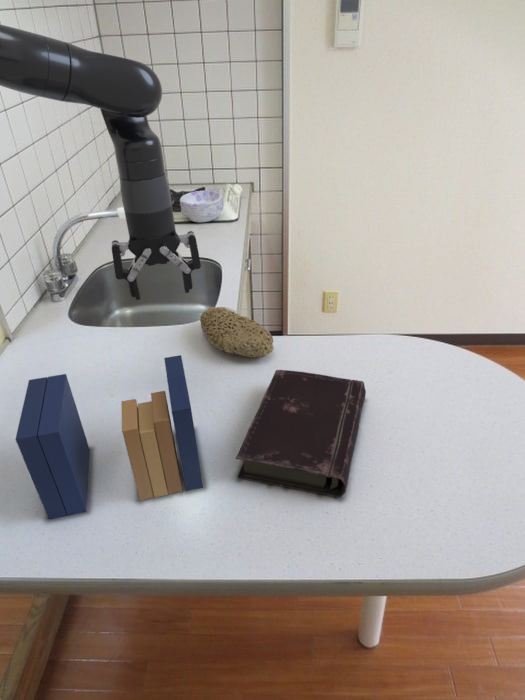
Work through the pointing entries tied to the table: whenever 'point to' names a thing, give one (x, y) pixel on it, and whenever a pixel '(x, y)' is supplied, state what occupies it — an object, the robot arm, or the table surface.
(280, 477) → the diary
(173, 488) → the tan books
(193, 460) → the navy book
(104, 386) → the table surface
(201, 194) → the paper bowls
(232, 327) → the sponge
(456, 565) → the table surface
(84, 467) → the navy book pair
